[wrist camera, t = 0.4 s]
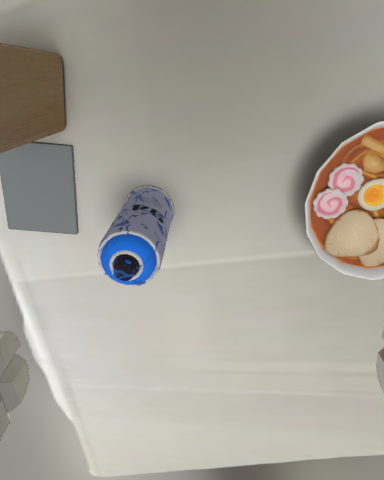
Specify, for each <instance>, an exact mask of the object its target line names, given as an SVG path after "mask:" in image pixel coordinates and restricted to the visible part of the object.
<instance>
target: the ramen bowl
mask: <svg viewBox="0 0 384 480" xmlns="http://www.w3.org/2000/svg"><path fill="white" fill-rule="evenodd" d="M305 221H306V235H307V236H308V238H309V240H310V242H311V244H312V246H313V248H314V249H315V251H316V253H317V255H318V257H319V259H321V260H322V261H324V262H325V263H327V264H328V265H330V266H331V267H333V268H334V269H335V270H337V271H338V272H340V273H341V274H344V275H348V276H353V277H357V278H362V279H367V280H378V279H384V121H381V122H376V123H375V124H373V125H371V126H369V127H368V128H366V129H364V130H362V131H361V132H359V133H357V134H355V135H354V136H352V137H350V138H348V139H347V140H345V141H343V142H342V143H341V144H340V145H339V146H338V147H337V148H336V150H335V151H334V152H333V153H332V154H331V156H330V157H329V158H328V159H327V160H326V161H325V163H324V164H323V165H322V166H321V167H320V168H319V170H318V171H317V172H316V175H315V178H314V180H313V183H312V186H311V188H310V191H309V193H308V196H307V199H306V201H305Z"/></svg>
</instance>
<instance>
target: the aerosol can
mask: <svg viewBox="0 0 384 480" xmlns="http://www.w3.org/2000/svg"><path fill="white" fill-rule="evenodd" d="M173 215H174V205H173V203H172V200H171V198H170V197H169V196H168V194H167V193H166V192H165V191H163V190H161V189H160V188H158V187H154V186H141V187H139V188H136V189H135V190H133V191H132V192H131V193H130V194H129V195H128V197H127V199H126V200H125V204H124V206H123V207H122V209H121V211H120V212H119V214H118V215H117V217H116V219H115V220H114V222H113V223H112V225H111V226H110V228H109V230H108V231H107V233H106V234H105V236H104V238H103V239H102V241H101V243H100V244H99V249H98V261H99V266H100V267H101V269H102V271H103V273H104V274H105V275H106V276H107V277H108V278H109V279H110V280H112V281H114V282H116V283H117V284H120V285H124V286H139V285H142V284H145V283H147V282H148V281H150V280H151V279H152V278H154V276H155V275H156V273H157V272H158V271H159V269H160V266H161V263H162V259H163V254H164V250H165V245H166V241H167V236H168V232H169V227H170V223H171V221H172V218H173Z"/></svg>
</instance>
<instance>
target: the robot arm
mask: <svg viewBox="0 0 384 480" xmlns="http://www.w3.org/2000/svg"><path fill="white" fill-rule="evenodd" d="M382 338H383V339H384V329H383V333H382ZM20 346H21V344H20V341H19V339H18V336H17V334H16V333H13V332H10V331H0V440H1V438H2V436H3V434H4V432H5V430H6V429H7V427H8V425H9V423H10V419H9V412H10V411H12V410H13V409H14V408H16V407H17V406H18V405H19V404H21V402H22V400H23V398H24V396H25V394H26V392H27V387H28V383H29V368H28V365H27V362H26V360H25V359H24V358H23V357H21V356H20V355H19V354H17V352H18V350H19V348H20ZM376 369H377V377H378V380H379V383H380V386H381V389H382V390H383V392H384V348H383V349H382V350H381V351H380V352H378V356H377V362H376Z"/></svg>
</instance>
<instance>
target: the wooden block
mask: <svg viewBox="0 0 384 480" xmlns="http://www.w3.org/2000/svg"><path fill="white" fill-rule="evenodd" d="M64 127H65V112H64V90H63V68H62V60H61V58H60V56H59V55H57V54H55V53H52V52H46V51H40V50H35V49H29V48H24V47H18V46H13V45H7V44H2V43H0V153H3V152H6V151H8V150H11V149H14V148H17V147H19V146H22V145H25V144H28V143H30V142H33V141H36V140H39V139H41V138H44V137H47V136H50V135H52V134H55V133H58V132H61V131H63V130H64Z"/></svg>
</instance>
